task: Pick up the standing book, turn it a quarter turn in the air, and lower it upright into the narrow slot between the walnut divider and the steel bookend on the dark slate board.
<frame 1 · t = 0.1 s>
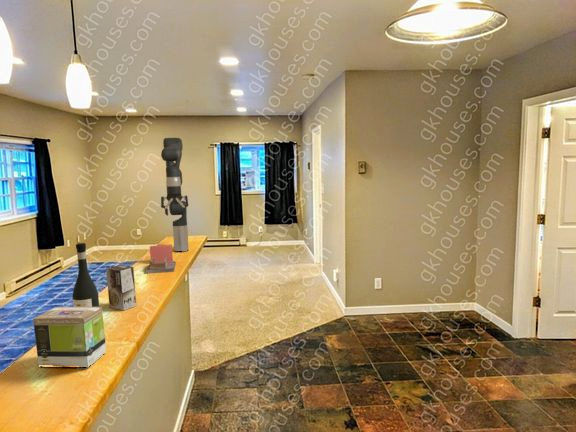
hand: (175, 215, 221), 29 cm above the table, tool pointing down, fingers open, 8 cm apart
coffee box: (123, 307, 162), on the table
wine bottle: (88, 328, 141), on the table
book rack: (159, 268, 222), on the table
tea box: (73, 361, 117), on the table
bookend: (168, 261, 223), point 4 cm above the table
book: (162, 262, 237), on the table
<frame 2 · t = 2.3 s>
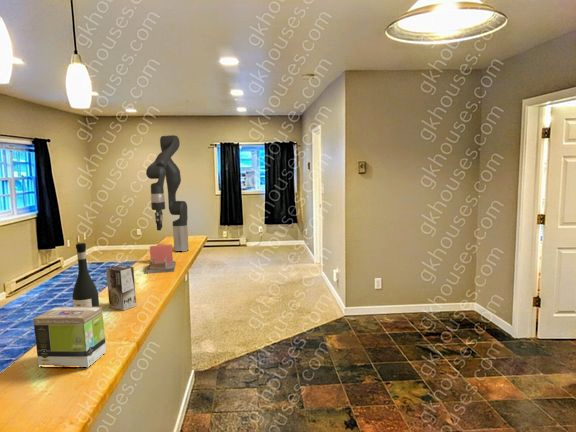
hand: (159, 229, 234), 20 cm above the table, tool pointing down, fingers open, 8 cm apart
nothing on the table moved.
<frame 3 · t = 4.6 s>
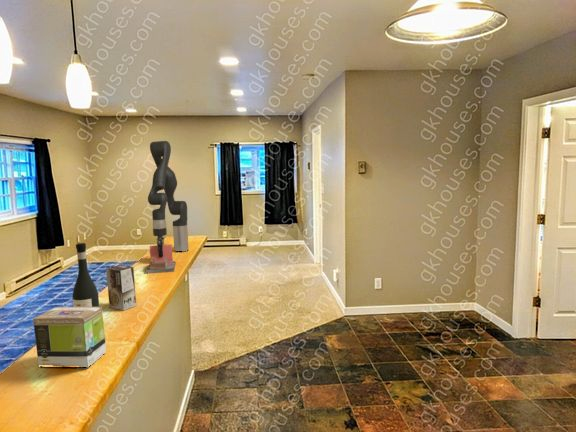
hand: (161, 256, 236), 4 cm above the table, tool pointing down, fingers closed on book, 4 cm apart
book: (161, 262, 237), on the table, touching gripper
everything else where it was.
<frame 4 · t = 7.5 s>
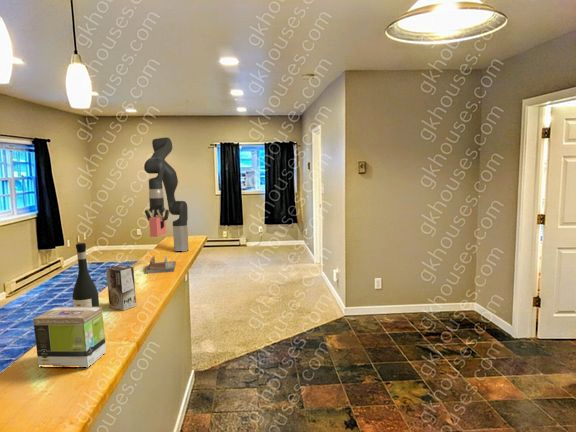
hand: (158, 228, 223), 22 cm above the table, tool pointing down, fingers closed on book, 4 cm apart
book: (158, 235, 224), point 18 cm above the table, touching gripper
everything else where it was.
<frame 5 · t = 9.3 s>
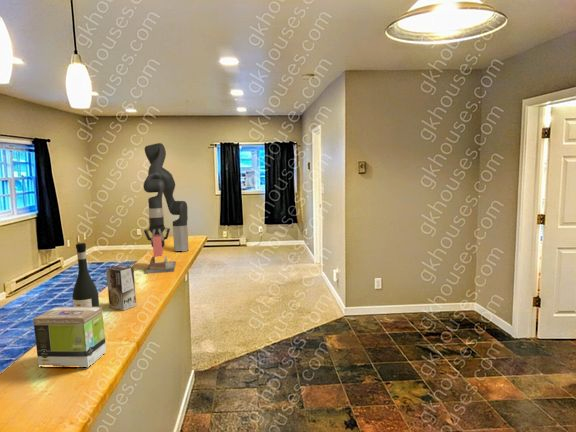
hand: (158, 247, 221), 12 cm above the table, tool pointing down, fingers closed on book, 4 cm apart
book: (158, 254, 222), point 8 cm above the table, touching gripper
everything else where it was.
when the fingers open (7 cm above the table, at t = 10.7 s): book drops 1 cm, resting on book rack.
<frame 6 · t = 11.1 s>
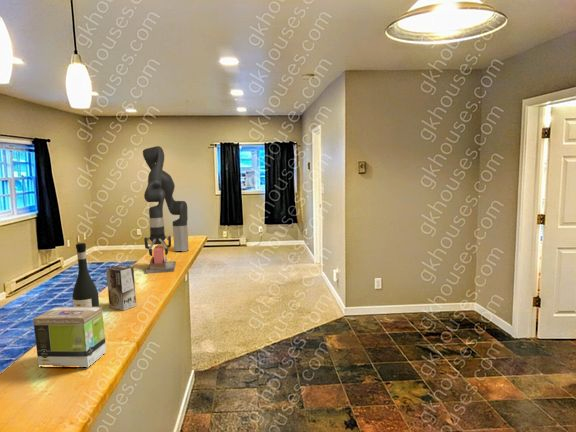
hand: (158, 255, 222), 7 cm above the table, tool pointing down, fingers open, 7 cm apart
book: (159, 265, 222), point 1 cm above the table, touching book rack
everything else where it was.
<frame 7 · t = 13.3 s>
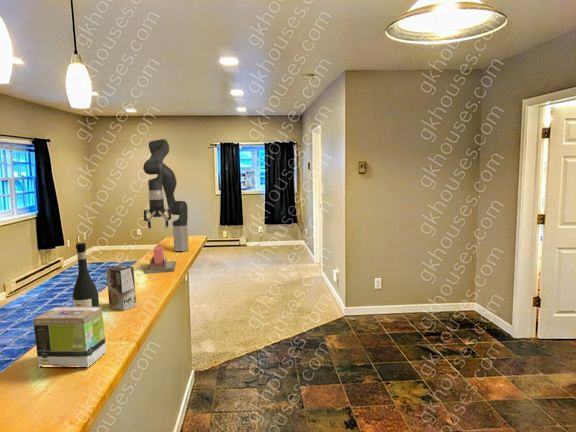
hand: (158, 227, 221), 22 cm above the table, tool pointing down, fingers open, 8 cm apart
nothing on the table moved.
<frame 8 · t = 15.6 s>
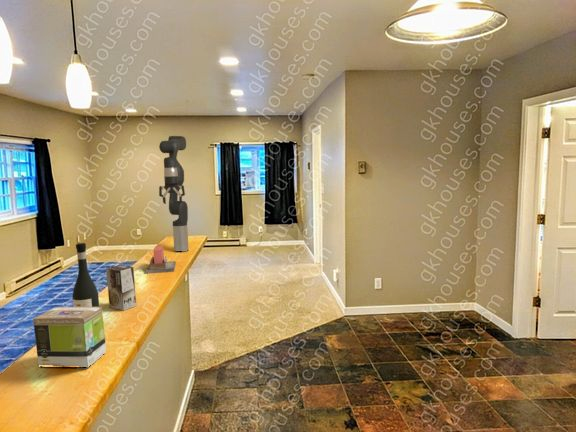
hand: (172, 203, 236), 34 cm above the table, tool pointing down, fingers open, 8 cm apart
nothing on the table moved.
at the end: book 0.0 cm off-centre on the book rack, point 1.5 cm above the book rack's base; book tilted 0°; the gripper is holding nothing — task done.
